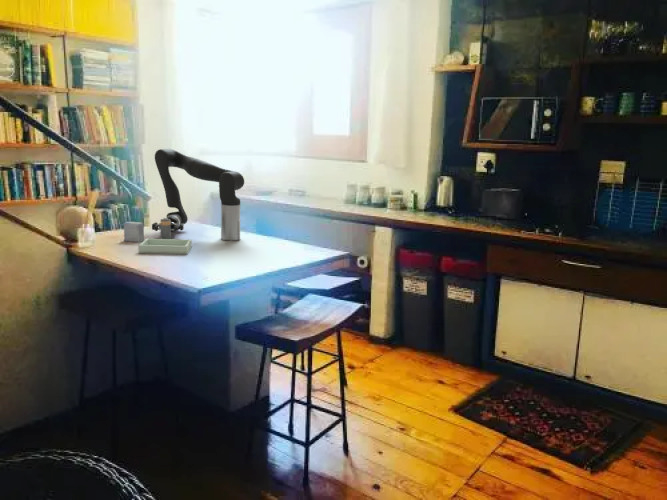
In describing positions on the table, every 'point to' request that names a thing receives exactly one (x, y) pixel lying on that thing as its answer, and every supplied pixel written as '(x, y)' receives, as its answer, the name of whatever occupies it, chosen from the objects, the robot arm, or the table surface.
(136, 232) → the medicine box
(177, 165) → the robot arm
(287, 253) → the table surface
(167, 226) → the battery cell
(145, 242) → the trough
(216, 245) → the table surface
